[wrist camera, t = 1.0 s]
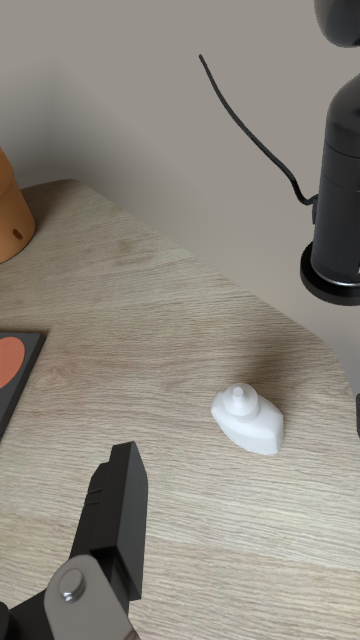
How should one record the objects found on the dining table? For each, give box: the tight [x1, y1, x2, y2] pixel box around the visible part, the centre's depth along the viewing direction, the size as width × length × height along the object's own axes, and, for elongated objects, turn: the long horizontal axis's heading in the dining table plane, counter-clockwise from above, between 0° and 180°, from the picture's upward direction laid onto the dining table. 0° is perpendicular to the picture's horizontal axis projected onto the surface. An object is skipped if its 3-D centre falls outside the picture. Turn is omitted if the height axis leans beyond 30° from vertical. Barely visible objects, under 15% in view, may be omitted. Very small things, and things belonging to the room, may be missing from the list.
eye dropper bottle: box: [211, 383, 283, 455], centre depth 25 cm, size 4×6×12 cm
